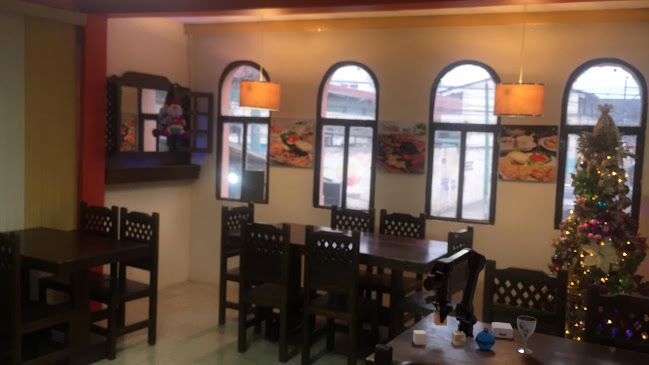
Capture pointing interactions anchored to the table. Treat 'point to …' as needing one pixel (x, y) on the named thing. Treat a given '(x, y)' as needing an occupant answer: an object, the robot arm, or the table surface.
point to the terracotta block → (438, 319)
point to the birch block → (458, 338)
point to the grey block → (419, 337)
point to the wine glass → (525, 331)
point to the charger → (501, 330)
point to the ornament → (485, 339)
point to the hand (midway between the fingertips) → (440, 321)
